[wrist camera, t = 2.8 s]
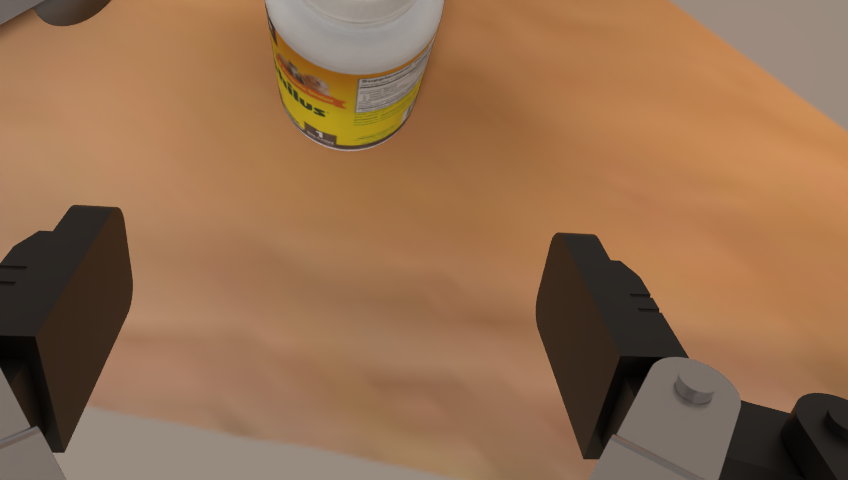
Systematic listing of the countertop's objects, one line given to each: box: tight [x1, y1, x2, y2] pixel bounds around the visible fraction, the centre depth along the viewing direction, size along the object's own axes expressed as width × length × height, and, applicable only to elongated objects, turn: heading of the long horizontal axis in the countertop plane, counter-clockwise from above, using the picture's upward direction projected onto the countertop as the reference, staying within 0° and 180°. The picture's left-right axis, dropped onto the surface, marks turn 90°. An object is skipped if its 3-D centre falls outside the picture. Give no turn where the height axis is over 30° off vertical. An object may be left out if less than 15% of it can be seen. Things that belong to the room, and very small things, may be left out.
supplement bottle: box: [265, 0, 444, 151], centre depth 23 cm, size 6×6×10 cm
